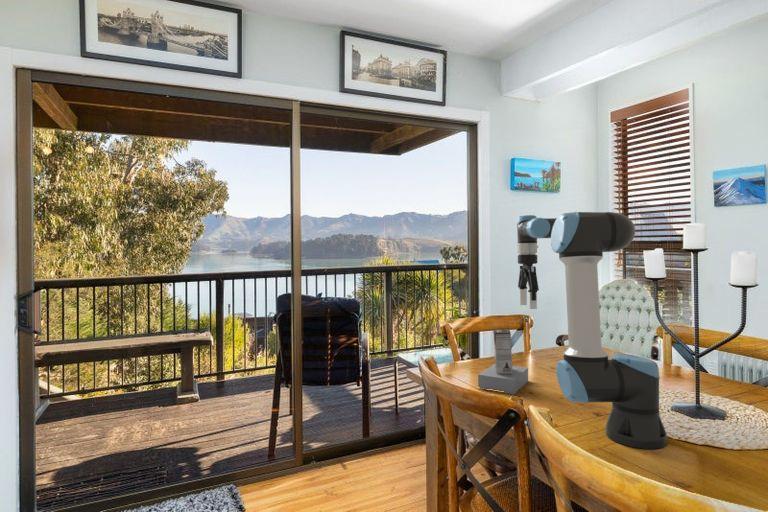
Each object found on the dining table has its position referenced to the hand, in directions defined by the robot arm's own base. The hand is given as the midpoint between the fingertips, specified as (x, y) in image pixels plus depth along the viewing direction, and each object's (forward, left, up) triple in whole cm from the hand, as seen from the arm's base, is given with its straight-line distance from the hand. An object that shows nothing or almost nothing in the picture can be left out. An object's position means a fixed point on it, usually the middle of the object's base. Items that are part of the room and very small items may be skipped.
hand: (527, 307), depth 180 cm
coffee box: (-2, +10, -26) cm, 27 cm away
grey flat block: (-2, +10, -32) cm, 33 cm away
